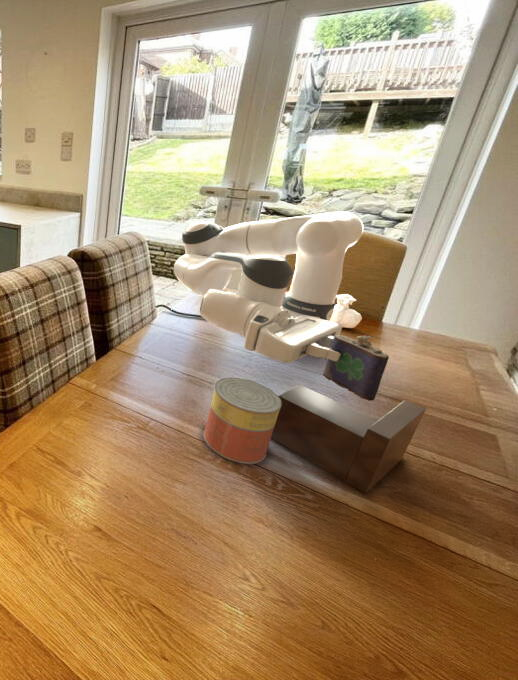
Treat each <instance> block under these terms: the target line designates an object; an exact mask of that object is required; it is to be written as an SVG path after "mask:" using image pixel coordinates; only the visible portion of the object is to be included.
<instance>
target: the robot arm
mask: <svg viewBox="0 0 518 680" xmlns="http://www.w3.org/2000/svg"><path fill="white" fill-rule="evenodd" d="M363 232H364V224H363V221H362V220H361V218H360V217H359V216H357V215H355V214H354V213H351V212H348V211H331V212H321V213H315V214H307V215H300V216H292V217H291V216H290V217H285V218H275V219H266V220H257V221H256V220H255V221H248V222H247V221H246V222H241V223H238V224H234V225H230V226H227V227H223V226H222V225H220V224H216V223H214V222H213V221H208V220H201V221H196V222H193V223H190V224H189V225H187V226H186V227H185V228H184V229H183V230H182V234H181V240H182V243H183V245H184V246H183V247H184V251H185V254H183V255H181V256H179V257H178V258H177V260H176V261H175V263H174V264H173V273H174V276H175V277H176V279H177V280H178V282H180V283H181V284H182V286H183V287H185V288H186V289H188V290H189V291H190V292H192V293H193V294H196V295H198V296H200V297H202V298H201V303H200V307H199V314H194V313H186V312H181V311H177V310H174V309H173V308H171V307H169V306H167V305H165V304H157V305H155V306H154V308H156V309H158V308H165V309H166V310H168V311H170V312H171V313H174V314H176V315H179V316H186V317H194V318H200V319H203V320H205V321H206V322H208V323H211V324H212V325H214V326H215V327H218V328H221V329H222V330H225V331H227V332H230V333H236V334H239V335H241V337H243V338H244V343H243V348H244V349H245V350H247V351H250V352H257V353H258V354H260V355H262V356H265V357H267V358H270V359H272V360H275V361H278V362H281V363H288V364H291V363H293V362H295V361H297V360H299V359H302V358H303V357H305V356H307V355H309V356H311V357H315V358H323V359H330V360H332V361H338V360H340V359H341V357H342V355H343V353H342V351H339V350H337V349H334V348H332V349H331V346H332V343H333V338H334V336H336V335H341V333H342V329H343V327H341V326H340V325H339V324H337V323H334V322H331V321H330V319H331V317H332V315H333V312H334V307H335V305H336V302H335V301H336V299H337V298H336V295H338V292H339V289H340V285H341V283H342V280H343V267H344V260H345V255H346V252H347V250H348V249H349V248H351V247H353V246H354V245H355V244H356V243H358V242H359V240H360V239H361V237H362V236H363ZM295 254H296V256H295V257H296V258H295V269H293V268H292V265H291V264H290V263H289V262H288V260H287V259H286V258H282V257H280V256H289V255H295ZM236 270H239V271H240V273H241V274H240V280H239V284H238V288H237V291H236V293H235V292H231V291H227V290H225V289H226V288H227V286H228V285H229V283H230V281H231V279H232V276H233V274H234V273H235V271H236ZM291 280H292V281H291ZM290 283H291V284H290ZM289 286H290V288H289V290H287V289H288V287H289ZM171 309H172V310H171Z"/></svg>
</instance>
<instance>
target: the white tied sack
mask: <svg viewBox="0 0 518 680" xmlns="http://www.w3.org/2000/svg"><path fill="white" fill-rule="evenodd" d="M335 299H336V303H337V304H335V307H334V312H333V315H332V317H331V319H330V321H331V322H334V323H337V324H339V325H340V326H341V327H342V328H346V329H354V328H356V327H357V326H358V325H359V324H360V323H361V321H362V320H363V317H362V315H361V313H359V312H357V311H356V310H355V309H353V308H350V306H353V303H354V302H356V301H358V300H357V299H356V298H354V297H353V295H350V294H349V293H343V294H337V295H336V298H335Z"/></svg>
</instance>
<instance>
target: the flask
mask: <svg viewBox="0 0 518 680" xmlns="http://www.w3.org/2000/svg"><path fill="white" fill-rule="evenodd" d="M356 339H357V340H356ZM356 339H354V338H352V337H349V336H347V335H342V334H340V335H336V336H334V338H333V343H332V346H331V347H330V349H332V348H334V349H337V350H339V351H342V353H343V355H342V357H341V359H340V360H338V361H332V360H330V359H327V358H326V359H327V360H326V363H325V366H324V369H323V372H322V376H323V377H324V378H325V379H326V380H328V381H331V382H333V383H334V384H335V385H337V386H338V387H340V388H342V389H345V390H347V391H348V392H350V393H352V394H353V395H355V396H357V397H359V398H360V399H362V400H365V401H368V402H372V401H375V399H376V396H377V394H378V392H379V388H380V385H381V381H382V378H383V376H384V373H385V369H386V367H387V363H388V361H389V355H388V353H386V352H383V350H382V349H380V348H378V347H374V346H373V344H372V342H370V341H368V340H369V339H372V336H370V335H360V336H359V335H356Z"/></svg>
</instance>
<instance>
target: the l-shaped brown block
mask: <svg viewBox="0 0 518 680" xmlns="http://www.w3.org/2000/svg"><path fill="white" fill-rule="evenodd" d="M278 396H279V398H280V399H281V401H282V406H281V408H280V410H279V413H278V417H277V420H276V423H275V426H274V429H273V432H272V436H271V439H270V440H273V441H275V442H276V443H278V444H280V445H282V446H283V447H285V448H287V449H289V450H290V451H292V452H294V453H295V454H297V455H299V456H300V457H302V458H304V459H305V460H307V461H309V462H311V463H312V464H314V465H316V466H318V468H321V469H322V470H324V471H326V472H328V473H329V474H330V475H333V476H334V477H336V478H338V479H339V480H342V481H343V482H344V483H346V484H348V485H350V486H351V487H353V488H355V489H356V490H358V491H360V492H362V493H363V494H366V493H368V492H369V491H370V490H371V489H372V488H373V487H374V486H375V485H376V484H378V482H379V481H381V479H383V478H384V477H385V476H386V475H387V474H388V473H389V472H390V471H391V470H392V469H394V467H395V466H397V465H398V464H399V462H401V461H402V460H403V458H404V456H405V454H406V452H407V449H408V447H409V445H410V443H411V441H412V439H413V437H414V435H415V433H416V431H417V429H418V427H419V425H420V424H421V423H420V422H421V421H422V418H423V416H424V415H425V412H426V410H427V408H426V407H423V406H421V405H418V404H416V403H413V402H411V401H409V400H406V399H405V400H403V401H402V402H401V403H398V405H397V406H395V407H394V408H392V409H391V410H390V411H388V412H387V413H386V414H385V415H384V416H382V417H381V418H380V419H377V418H375V417H372V416H370V415H367V414H366V413H363V412H361V411H358V410H356V409H354V408H352V407H350V406H348V405H345V404H343V403H341V402H339V401H337V400H334V399H332V398H330V397H328V396H326V395H324V394H321V393H319V392H317V391H314V390H312V389H310V388H308V387H306V386H303V385H302V384H297V385H295V386H293V387H292V388H290V389H288V390H286V391H284V392H282V393H280V394H279V395H278Z"/></svg>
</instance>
